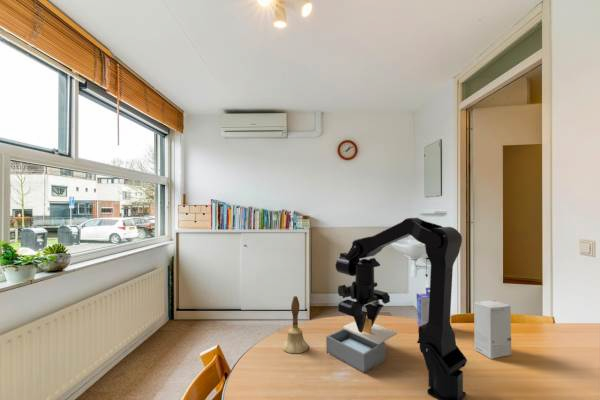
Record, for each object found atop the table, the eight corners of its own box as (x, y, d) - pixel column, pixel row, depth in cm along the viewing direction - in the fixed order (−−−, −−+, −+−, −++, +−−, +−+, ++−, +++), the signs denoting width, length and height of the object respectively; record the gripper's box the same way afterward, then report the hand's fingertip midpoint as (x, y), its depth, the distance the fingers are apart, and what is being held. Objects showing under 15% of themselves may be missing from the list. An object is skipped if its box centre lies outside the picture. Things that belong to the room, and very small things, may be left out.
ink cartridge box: (443, 326, 105) (443, 286, 105) (450, 333, 99) (450, 291, 99) (416, 325, 106) (415, 286, 106) (421, 332, 100) (421, 291, 100)
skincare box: (491, 359, 83) (490, 308, 83) (473, 349, 88) (472, 301, 88) (512, 355, 85) (512, 305, 85) (493, 345, 91) (493, 298, 91)
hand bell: (288, 339, 96) (287, 291, 96) (311, 343, 93) (311, 294, 93) (277, 351, 88) (277, 299, 89) (303, 356, 86) (302, 302, 86)
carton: (385, 359, 83) (385, 342, 83) (364, 373, 77) (363, 354, 77) (347, 341, 94) (347, 326, 94) (326, 352, 87) (326, 336, 87)
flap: (396, 334, 88) (396, 319, 88) (378, 344, 81) (378, 328, 81) (361, 320, 98) (360, 306, 98) (342, 328, 92) (342, 314, 92)
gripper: (362, 269, 101) (362, 314, 101) (324, 279, 89) (325, 329, 89) (390, 275, 92) (390, 324, 92) (353, 287, 80) (353, 343, 80)
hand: (365, 329), depth 88 cm, fingers open, 4 cm apart
